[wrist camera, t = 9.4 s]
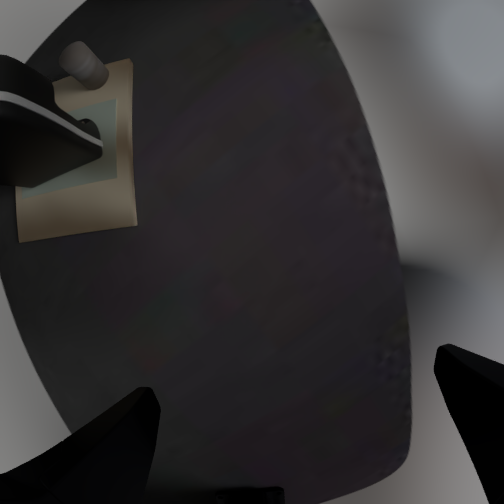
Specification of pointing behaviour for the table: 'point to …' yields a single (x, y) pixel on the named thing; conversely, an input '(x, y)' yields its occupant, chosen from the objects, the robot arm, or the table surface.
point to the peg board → (96, 172)
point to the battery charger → (39, 130)
